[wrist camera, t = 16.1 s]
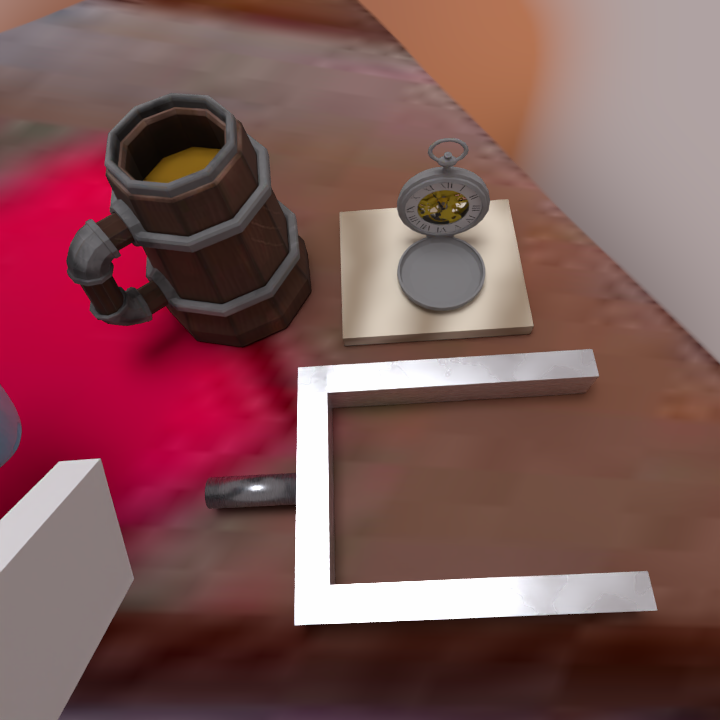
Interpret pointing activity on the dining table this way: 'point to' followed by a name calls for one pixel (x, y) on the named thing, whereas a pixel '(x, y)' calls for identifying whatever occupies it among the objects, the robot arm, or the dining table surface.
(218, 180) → the mug
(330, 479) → the u-shaped metal frame
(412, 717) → the dining table surface
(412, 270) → the pocket watch
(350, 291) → the ash board
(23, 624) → the robot arm
